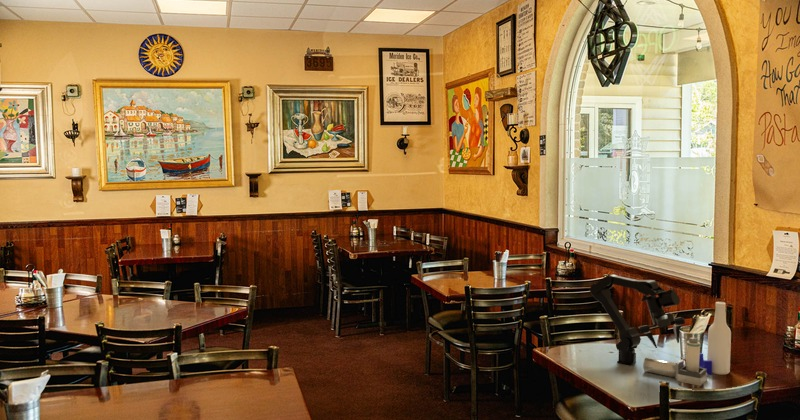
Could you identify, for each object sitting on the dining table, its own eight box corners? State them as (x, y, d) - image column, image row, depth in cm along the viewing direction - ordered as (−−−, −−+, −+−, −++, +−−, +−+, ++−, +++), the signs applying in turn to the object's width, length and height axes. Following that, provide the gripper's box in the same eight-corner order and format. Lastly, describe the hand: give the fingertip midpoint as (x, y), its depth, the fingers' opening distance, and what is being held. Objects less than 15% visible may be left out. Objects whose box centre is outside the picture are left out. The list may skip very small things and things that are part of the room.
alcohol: (728, 376, 277) (730, 305, 275) (705, 372, 282) (707, 303, 280) (730, 370, 285) (733, 301, 283) (708, 367, 290) (710, 299, 287)
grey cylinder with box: (641, 373, 281) (642, 357, 280) (649, 368, 288) (649, 352, 287) (700, 385, 266) (701, 368, 265) (706, 380, 273) (707, 363, 272)
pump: (685, 374, 270) (687, 339, 269) (685, 370, 275) (686, 336, 274) (699, 376, 269) (700, 340, 268) (698, 372, 274) (699, 337, 272)
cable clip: (690, 366, 292) (691, 352, 291) (701, 366, 291) (702, 353, 291) (700, 374, 280) (700, 361, 279) (711, 375, 279) (711, 361, 279)
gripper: (638, 314, 278) (649, 351, 275) (682, 303, 275) (694, 341, 272) (633, 314, 289) (643, 350, 285) (676, 304, 286) (687, 340, 283)
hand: (667, 345), depth 281 cm, fingers open, 9 cm apart
